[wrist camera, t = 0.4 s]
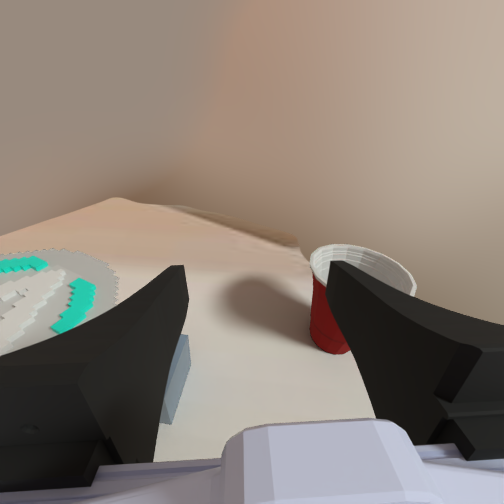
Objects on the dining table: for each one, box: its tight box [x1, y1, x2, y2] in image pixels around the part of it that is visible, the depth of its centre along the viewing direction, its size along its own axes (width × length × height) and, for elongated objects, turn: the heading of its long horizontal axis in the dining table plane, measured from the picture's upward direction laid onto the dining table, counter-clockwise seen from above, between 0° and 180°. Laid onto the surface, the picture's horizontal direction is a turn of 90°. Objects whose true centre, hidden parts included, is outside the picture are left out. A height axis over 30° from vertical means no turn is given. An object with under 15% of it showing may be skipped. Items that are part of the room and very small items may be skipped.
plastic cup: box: [310, 244, 417, 354], centre depth 29 cm, size 11×11×12 cm
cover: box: [159, 334, 191, 424], centre depth 24 cm, size 6×6×6 cm
